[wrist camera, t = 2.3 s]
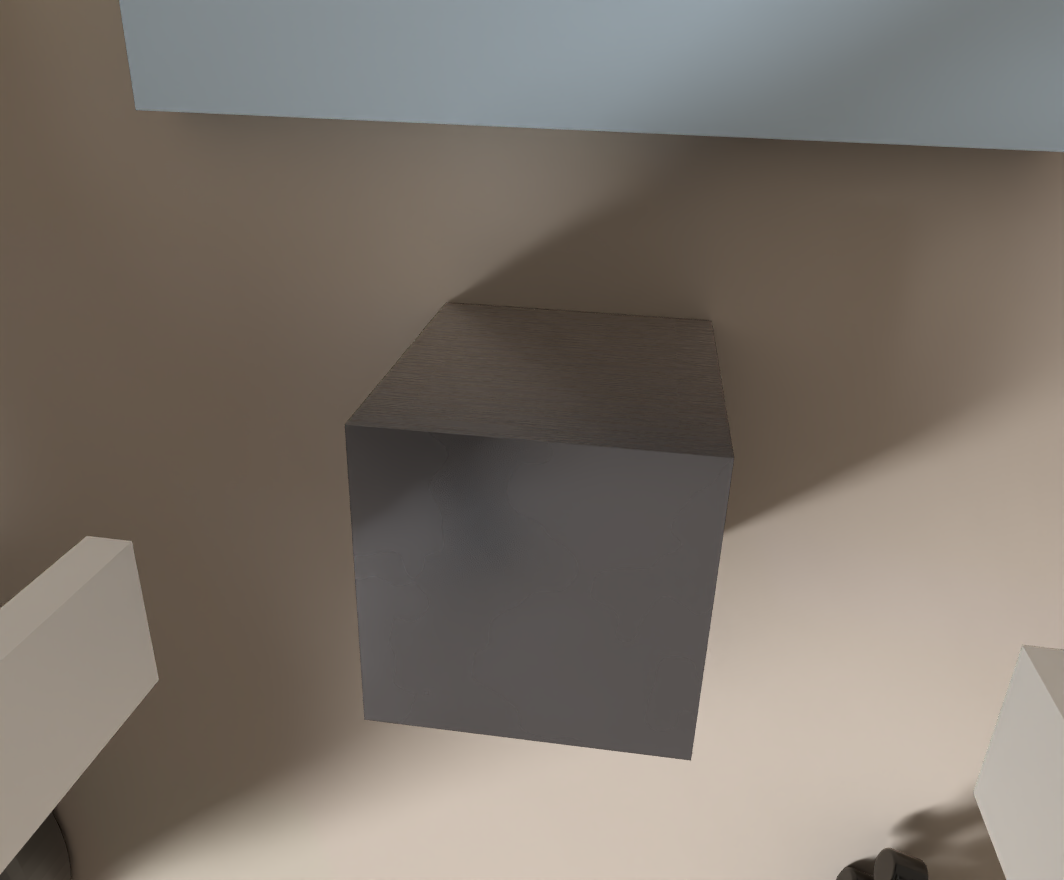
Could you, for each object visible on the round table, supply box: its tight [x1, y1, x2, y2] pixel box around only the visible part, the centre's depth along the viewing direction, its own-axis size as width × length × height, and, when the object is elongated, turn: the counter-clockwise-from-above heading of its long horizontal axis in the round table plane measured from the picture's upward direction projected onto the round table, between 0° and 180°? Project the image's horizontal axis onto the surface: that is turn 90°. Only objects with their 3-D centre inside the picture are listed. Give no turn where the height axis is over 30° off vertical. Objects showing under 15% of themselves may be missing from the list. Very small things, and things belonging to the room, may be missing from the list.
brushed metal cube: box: [345, 303, 734, 760], centre depth 18 cm, size 6×6×7 cm
